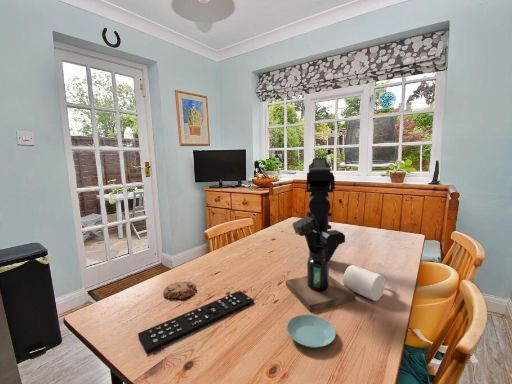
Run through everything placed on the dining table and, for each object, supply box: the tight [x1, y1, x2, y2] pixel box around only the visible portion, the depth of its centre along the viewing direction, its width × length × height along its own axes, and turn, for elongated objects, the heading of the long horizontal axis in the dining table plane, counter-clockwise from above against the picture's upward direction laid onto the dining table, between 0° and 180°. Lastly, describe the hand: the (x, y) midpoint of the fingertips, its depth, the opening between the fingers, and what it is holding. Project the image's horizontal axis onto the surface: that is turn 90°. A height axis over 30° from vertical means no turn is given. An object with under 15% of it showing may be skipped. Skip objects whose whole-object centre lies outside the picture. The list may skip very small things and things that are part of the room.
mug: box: [342, 264, 386, 302], centre depth 84 cm, size 12×10×8 cm
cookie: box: [162, 281, 197, 300], centre depth 86 cm, size 10×11×3 cm
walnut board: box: [285, 274, 356, 312], centre depth 84 cm, size 16×16×2 cm
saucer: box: [286, 314, 337, 349], centre depth 64 cm, size 12×12×2 cm
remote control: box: [137, 290, 255, 355], centre depth 72 cm, size 8×32×2 cm, turn 129°
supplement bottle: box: [306, 249, 330, 291], centre depth 84 cm, size 7×7×12 cm
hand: (318, 256), depth 82 cm, fingers open, 9 cm apart
